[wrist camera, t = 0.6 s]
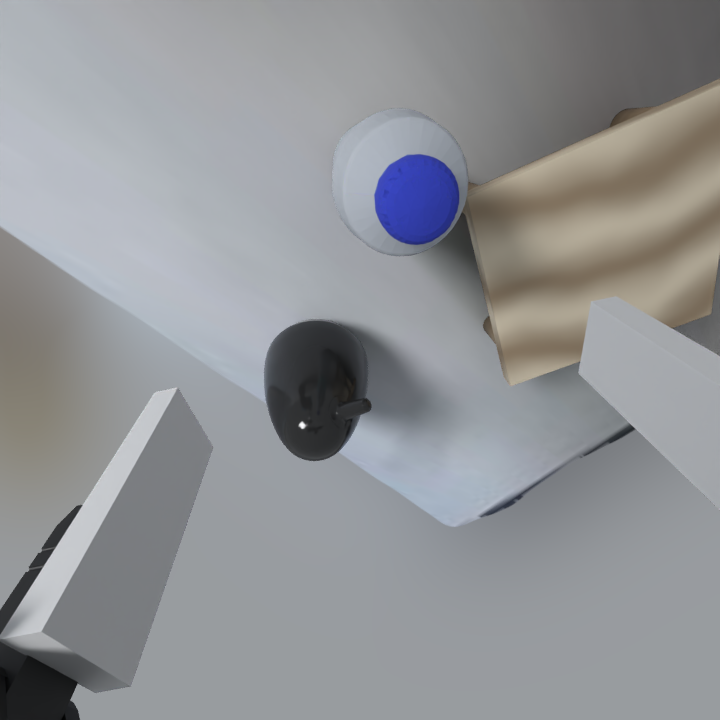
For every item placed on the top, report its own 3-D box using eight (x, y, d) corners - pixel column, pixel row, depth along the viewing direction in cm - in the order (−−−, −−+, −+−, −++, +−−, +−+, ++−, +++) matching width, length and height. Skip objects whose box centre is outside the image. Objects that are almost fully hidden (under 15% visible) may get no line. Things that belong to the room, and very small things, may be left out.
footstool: (437, 183, 32) (467, 197, 25) (648, 87, 29) (745, 73, 23) (480, 344, 41) (510, 386, 34) (643, 282, 39) (710, 314, 32)
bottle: (424, 164, 31) (543, 201, 14) (369, 224, 33) (415, 318, 16) (368, 96, 28) (433, 41, 11) (313, 167, 30) (297, 210, 14)
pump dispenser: (383, 351, 41) (410, 452, 28) (313, 399, 43) (308, 511, 31) (324, 284, 36) (324, 368, 23) (250, 342, 39) (213, 447, 26)
